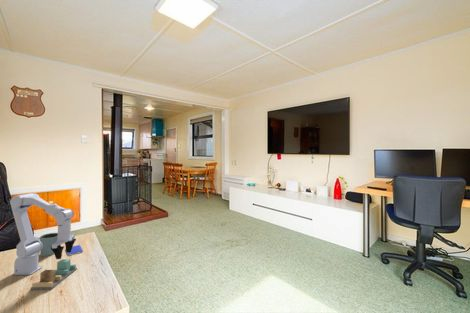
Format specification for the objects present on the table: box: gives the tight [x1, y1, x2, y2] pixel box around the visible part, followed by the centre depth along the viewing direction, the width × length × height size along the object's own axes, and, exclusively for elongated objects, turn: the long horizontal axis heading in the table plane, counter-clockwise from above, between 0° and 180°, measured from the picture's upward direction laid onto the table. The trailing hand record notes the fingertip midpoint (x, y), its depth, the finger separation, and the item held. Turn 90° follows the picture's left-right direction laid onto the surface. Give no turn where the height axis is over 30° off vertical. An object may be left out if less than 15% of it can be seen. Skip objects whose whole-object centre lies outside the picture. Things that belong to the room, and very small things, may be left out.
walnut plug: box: [39, 269, 57, 283], centre depth 106 cm, size 5×3×6 cm, turn 94°
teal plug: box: [56, 258, 71, 270], centre depth 117 cm, size 5×3×6 cm, turn 94°
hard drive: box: [66, 244, 84, 257], centre depth 144 cm, size 2×8×12 cm
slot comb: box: [30, 264, 78, 291], centre depth 112 cm, size 10×18×3 cm, turn 4°
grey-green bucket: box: [39, 232, 58, 257], centre depth 140 cm, size 10×10×12 cm
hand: (63, 255), depth 117 cm, fingers open, 7 cm apart
